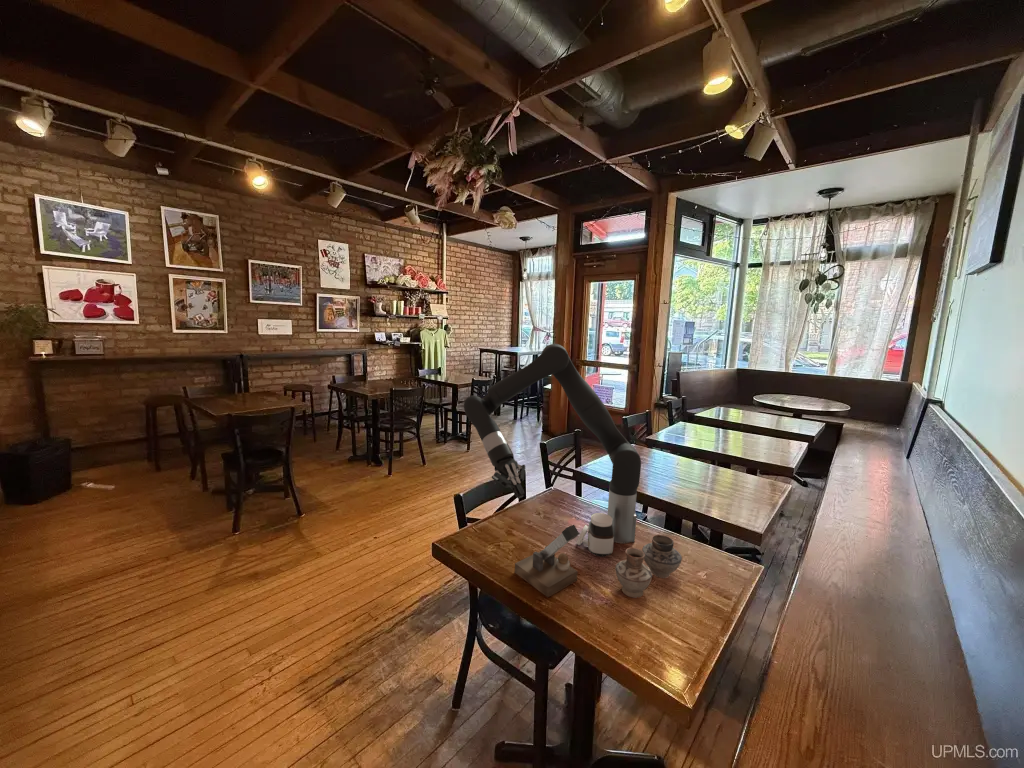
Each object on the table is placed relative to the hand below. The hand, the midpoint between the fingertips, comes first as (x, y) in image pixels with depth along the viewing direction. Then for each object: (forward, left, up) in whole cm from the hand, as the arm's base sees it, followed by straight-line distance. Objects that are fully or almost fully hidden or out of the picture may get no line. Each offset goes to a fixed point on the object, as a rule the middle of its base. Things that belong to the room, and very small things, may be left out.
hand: (521, 496), depth 126 cm
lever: (-8, +8, -15) cm, 18 cm away
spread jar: (-24, -8, -21) cm, 33 cm away
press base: (-8, +8, -21) cm, 23 cm away
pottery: (-38, +7, -21) cm, 44 cm away
